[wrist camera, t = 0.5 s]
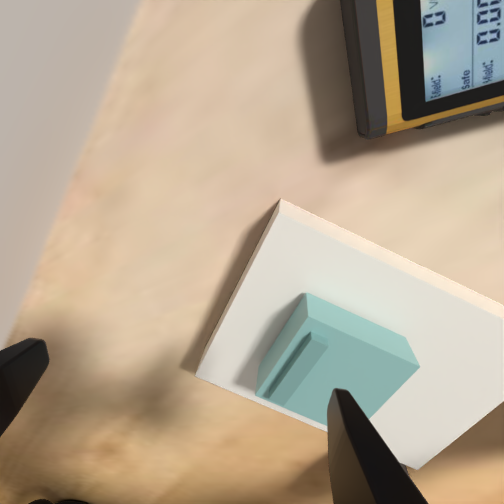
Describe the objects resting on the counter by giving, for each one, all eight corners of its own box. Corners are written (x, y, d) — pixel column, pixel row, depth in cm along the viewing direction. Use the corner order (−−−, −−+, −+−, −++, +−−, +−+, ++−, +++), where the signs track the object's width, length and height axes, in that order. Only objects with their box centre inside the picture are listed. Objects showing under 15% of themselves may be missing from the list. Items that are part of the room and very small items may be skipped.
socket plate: (532, 318, 21) (568, 349, 18) (404, 433, 27) (417, 470, 24) (280, 198, 19) (278, 212, 17) (205, 347, 25) (194, 376, 23)
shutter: (405, 337, 19) (424, 375, 16) (345, 403, 22) (353, 445, 19) (306, 291, 18) (308, 323, 15) (258, 366, 21) (253, 403, 18)
